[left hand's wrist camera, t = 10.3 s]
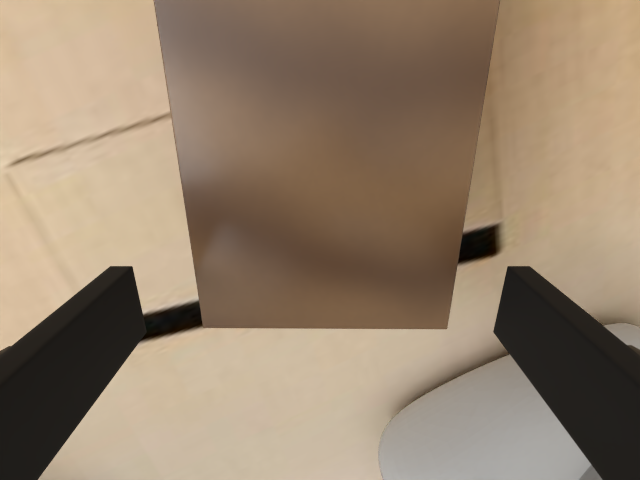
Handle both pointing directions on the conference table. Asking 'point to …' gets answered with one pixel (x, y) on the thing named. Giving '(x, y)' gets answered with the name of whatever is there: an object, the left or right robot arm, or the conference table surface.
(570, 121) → the conference table surface
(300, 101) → the cabinet
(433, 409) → the projector
